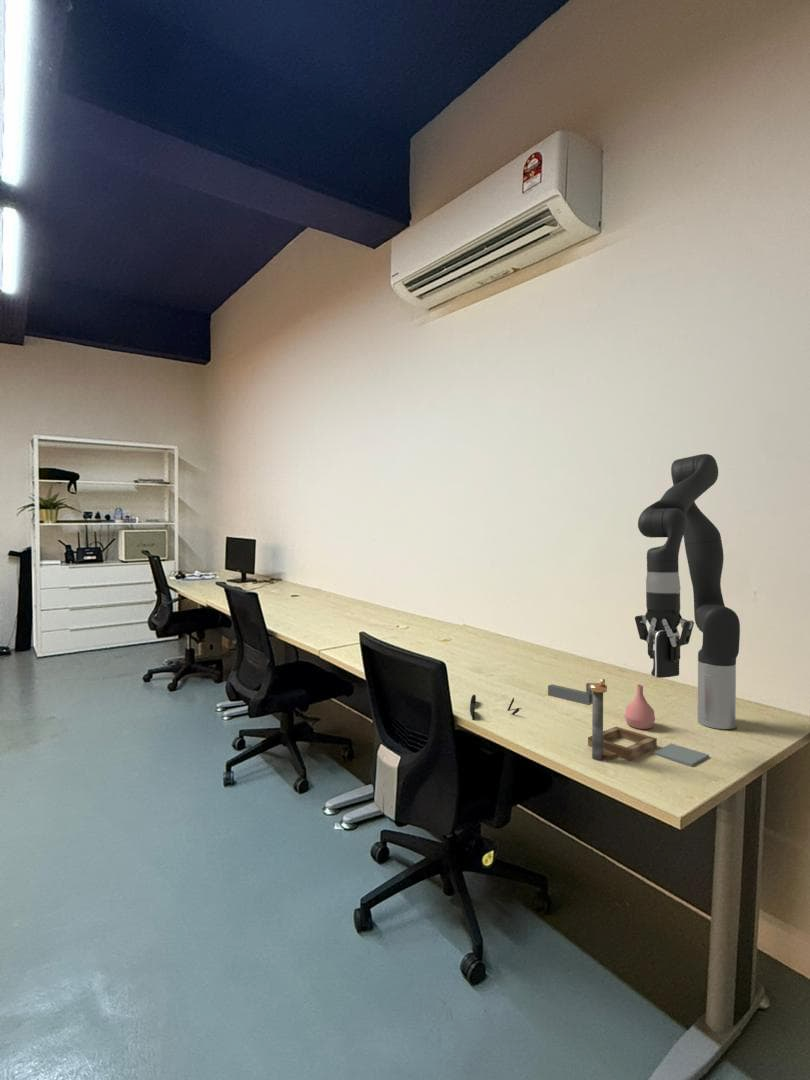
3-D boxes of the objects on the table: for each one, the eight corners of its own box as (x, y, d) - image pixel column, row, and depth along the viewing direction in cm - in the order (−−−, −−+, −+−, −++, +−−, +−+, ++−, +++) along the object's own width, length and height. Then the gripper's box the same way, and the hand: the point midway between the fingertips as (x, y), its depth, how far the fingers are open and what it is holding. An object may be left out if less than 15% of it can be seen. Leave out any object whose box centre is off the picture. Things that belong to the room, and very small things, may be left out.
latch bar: (545, 696, 139) (545, 670, 139) (554, 693, 142) (554, 667, 142) (601, 709, 128) (601, 681, 128) (609, 706, 131) (609, 678, 131)
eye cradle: (616, 735, 146) (616, 675, 146) (656, 748, 138) (657, 684, 138) (574, 752, 135) (574, 687, 135) (616, 767, 126) (616, 697, 126)
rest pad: (671, 745, 139) (671, 743, 139) (708, 757, 132) (708, 754, 132) (653, 754, 134) (653, 752, 134) (691, 766, 127) (691, 764, 127)
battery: (668, 672, 138) (668, 627, 138) (680, 676, 134) (681, 629, 134) (646, 675, 136) (646, 628, 135) (657, 679, 132) (658, 631, 132)
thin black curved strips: (520, 728, 152) (520, 710, 152) (467, 725, 154) (467, 708, 154) (517, 710, 169) (517, 693, 169) (469, 707, 171) (469, 691, 171)
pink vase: (652, 726, 154) (653, 683, 154) (657, 735, 147) (657, 690, 147) (623, 723, 156) (623, 681, 156) (626, 732, 149) (626, 688, 149)
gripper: (627, 589, 138) (628, 657, 138) (685, 593, 127) (686, 667, 127) (642, 587, 143) (643, 653, 143) (700, 591, 131) (701, 662, 131)
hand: (663, 659), depth 135 cm, fingers closed on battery, 4 cm apart
